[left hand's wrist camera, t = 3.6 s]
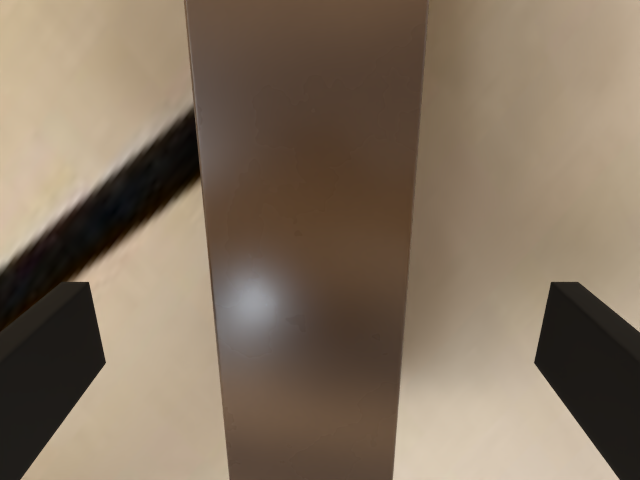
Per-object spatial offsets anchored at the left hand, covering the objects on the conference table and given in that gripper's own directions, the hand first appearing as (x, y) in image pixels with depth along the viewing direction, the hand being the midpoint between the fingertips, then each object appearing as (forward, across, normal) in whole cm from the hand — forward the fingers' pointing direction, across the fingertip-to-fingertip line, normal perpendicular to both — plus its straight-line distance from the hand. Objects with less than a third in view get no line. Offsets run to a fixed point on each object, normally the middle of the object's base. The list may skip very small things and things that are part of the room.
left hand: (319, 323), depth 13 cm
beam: (+8, 0, -19) cm, 20 cm away
